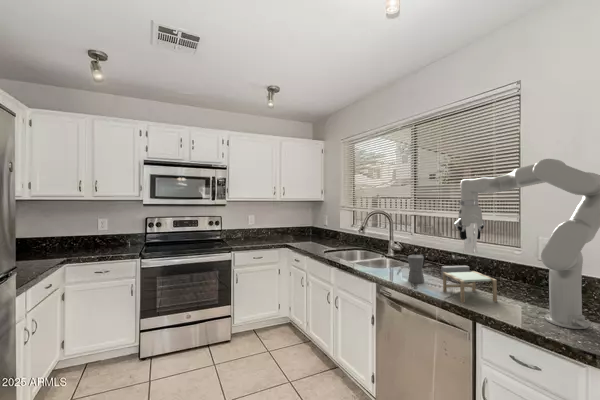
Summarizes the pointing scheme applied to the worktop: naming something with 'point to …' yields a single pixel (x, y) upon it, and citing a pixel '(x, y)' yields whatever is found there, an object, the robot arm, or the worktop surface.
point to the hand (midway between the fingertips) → (470, 238)
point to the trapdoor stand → (467, 285)
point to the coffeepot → (416, 268)
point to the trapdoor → (464, 273)
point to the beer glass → (471, 238)
